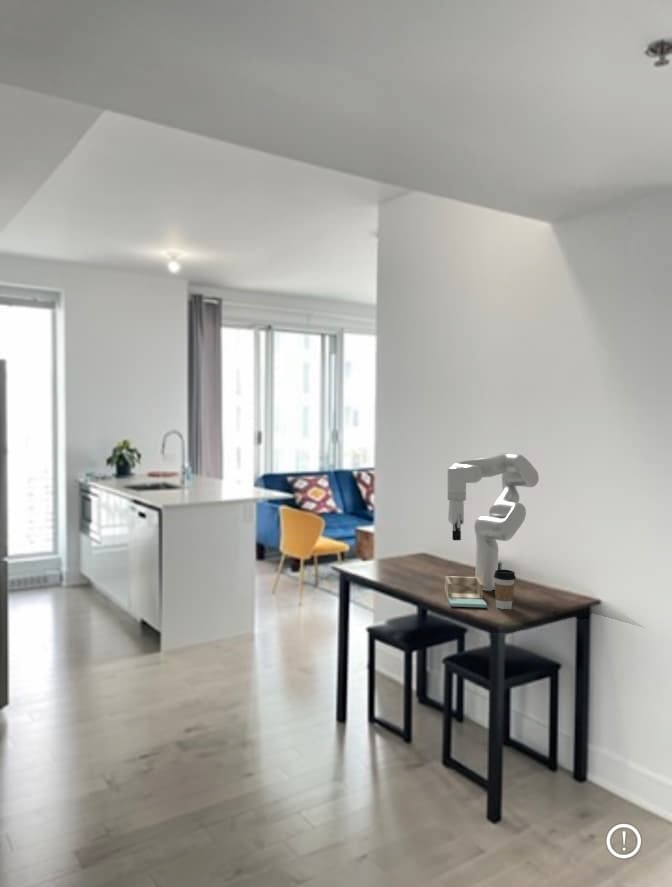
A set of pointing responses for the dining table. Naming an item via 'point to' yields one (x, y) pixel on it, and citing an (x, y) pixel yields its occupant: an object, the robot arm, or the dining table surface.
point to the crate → (463, 587)
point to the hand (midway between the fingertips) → (456, 539)
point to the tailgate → (467, 602)
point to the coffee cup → (504, 588)
